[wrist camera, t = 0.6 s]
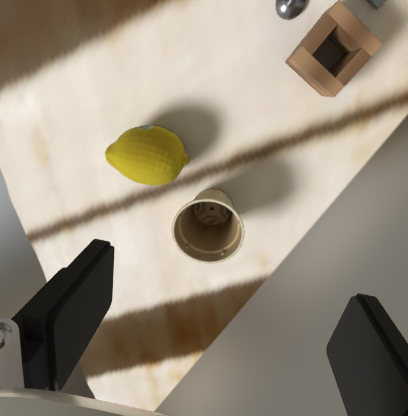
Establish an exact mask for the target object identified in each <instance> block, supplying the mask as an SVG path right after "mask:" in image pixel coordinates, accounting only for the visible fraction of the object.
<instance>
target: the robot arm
mask: <svg viewBox="0 0 408 416" xmlns="http://www.w3.org/2000/svg"><path fill="white" fill-rule="evenodd" d="M113 269H114V247H113V246H111V245H110V242H108V241H104V240H99V239H94V240H93V241H92V242H91V243H90V244H89V245H88V246H87V247H86V248H85V249H84V250H83V251H82V252H81V253H80V254H79V255H78V256H77V257H76V258H75V259H74V261H73V262H72V263H71V264H70V265H69V266H68V267H67V268H62V269H61V270H59V271H58V272H57V273H56V274H55V275H54V276H53V277H52V278H51V279H50V280H49V281H48V282H47V283H46V284H45V285H44V287H43V288H42V289H40V291H38V292H37V294H36V295H35V296H34V297H33V298H32V299H31V300H30V301H29V302H28V303H27V304H26V305H25V306H24V307H23V308H22V309H21V310H20V311H19V312H18V313H17V314H16V315H15V316H14V317H13V318H12V319H11V320H10V319H7V318H0V416H170V415H165V414H161V413H156V412H152V411H147V410H143V409H138V408H133V407H129V406H124V405H120V404H115V403H110V402H105V401H100V400H95V399H90V398H85V397H80V396H75V395H70V394H65V393H59V392H55V391H56V390H61V389H62V388H63V386H64V385H65V383H66V381H67V380H68V378H69V376H70V374H71V373H72V371H73V369H74V368H75V366H76V364H77V363H78V361H79V359H80V358H81V356H82V354H83V352H84V351H85V349H86V347H87V346H88V344H89V342H90V340H91V339H92V337H93V335H94V334H95V332H96V330H97V328H98V327H99V325H100V323H101V322H102V320H103V318H104V316H105V315H106V313H107V311H108V310H109V308H110V305H111V302H112V292H113ZM327 356H328V359H329V362H330V365H331V368H332V371H333V373H334V376H335V379H336V382H337V385H338V388H339V391H340V394H341V397H342V400H343V403H344V406H345V408H346V412H347V414H348V416H408V343H407V342H406V340H405V339H404V337H403V336H402V334H401V333H400V331H399V330H398V329H397V327H396V326H395V324H394V323H393V321H392V320H391V318H390V317H389V315H388V314H387V313H386V311H385V309H384V308H383V306H382V305H381V303H380V302H379V301H378V299H377V298H376V297H374V296H369V295H364V294H357V295H356V296H353V297H351V298H350V300H349V302H348V304H347V306H346V308H345V311H344V312H343V314H342V316H341V319H340V320H339V322H338V325H337V327H336V328H335V330H334V332H333V334H332V336H331V339H330V341H329V342H328V345H327Z"/></svg>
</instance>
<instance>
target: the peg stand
mask: <svg viewBox="0 0 408 416" xmlns="http://www.w3.org/2000/svg"><path fill="white" fill-rule="evenodd" d="M368 1H369V2H370V3H371V4H372V5H373V6H374V8H375V9H378V8H379V7H380V6H381V5H382V4H383V3H384V1H385V0H368Z"/></svg>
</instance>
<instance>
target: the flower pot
mask: <svg viewBox="0 0 408 416" xmlns="http://www.w3.org/2000/svg"><path fill="white" fill-rule="evenodd" d="M197 203H199V210H197V209H196V205H197ZM211 208H214V209H213V210H211ZM227 208H229V209H230V211H229V212H228V213H227ZM208 220H211V221H215V222H207V221H208ZM172 236H173V240H174V242H175V244H176V246H177V248H178V249H179V250H180V251H181V252H182V253H183V254H184V255H185V256H186V257H188V258H190V259H192V260H194V261H197V262H200V263H208V264H212V263H219V262H223V261H225V260H228V259H230V258H231V257H232V256H234V255H235V254H236V253H237V252H238V250H239V249H240V247H241V246H242V243H243V240H244V226H243V222H242V220H241V218H240V216H239V214H238V213H237V212H236V211H235V210H234V209H233V206H232V202H231V200H230V198H229V197H228V196H227V195H226V194H225V193H224V192H222V191H219V190H216V189H209V190H205V191H203V192H201V193H200V194H198V195H197V196H196V198H195V199H194V200H193V201H191V202H189V203H187V204H186V205H184V206H183V207H182V208H181V209H180V210H179V211H178V212H177V214H176V216H175V217H174V220H173V223H172Z"/></svg>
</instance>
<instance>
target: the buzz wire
mask: <svg viewBox="0 0 408 416" xmlns="http://www.w3.org/2000/svg"><path fill="white" fill-rule="evenodd" d="M304 5H305V0H276V11H277V14H278V15H279V16H280V17H281V18H282V19H285V20H291V19H294V18H295V17H297V16H298V15H299V14H300V12H301V11H302V9H303V7H304Z"/></svg>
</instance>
